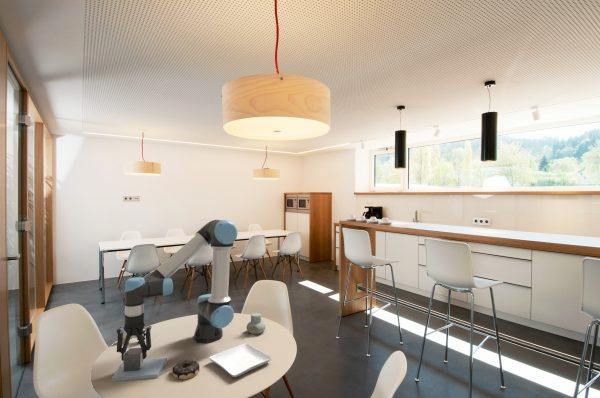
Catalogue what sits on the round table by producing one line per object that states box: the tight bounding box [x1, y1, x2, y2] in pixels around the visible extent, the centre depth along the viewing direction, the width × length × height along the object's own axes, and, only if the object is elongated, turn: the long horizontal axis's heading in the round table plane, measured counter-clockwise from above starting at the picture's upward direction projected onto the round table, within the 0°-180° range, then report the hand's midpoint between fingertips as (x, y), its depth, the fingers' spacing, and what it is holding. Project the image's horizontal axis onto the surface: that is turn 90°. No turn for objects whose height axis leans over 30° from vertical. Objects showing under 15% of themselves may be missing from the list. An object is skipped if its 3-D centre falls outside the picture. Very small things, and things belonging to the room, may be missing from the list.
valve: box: [122, 329, 146, 344], centre depth 162 cm, size 7×7×12 cm
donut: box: [171, 358, 200, 380], centre depth 133 cm, size 11×12×4 cm
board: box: [111, 357, 168, 382], centre depth 134 cm, size 18×14×6 cm
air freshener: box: [245, 312, 267, 335], centre depth 175 cm, size 11×8×10 cm
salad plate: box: [208, 343, 272, 378], centre depth 140 cm, size 21×21×3 cm
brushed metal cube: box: [123, 347, 142, 371], centre depth 134 cm, size 6×6×7 cm
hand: (134, 366), depth 134 cm, fingers closed on brushed metal cube, 6 cm apart
